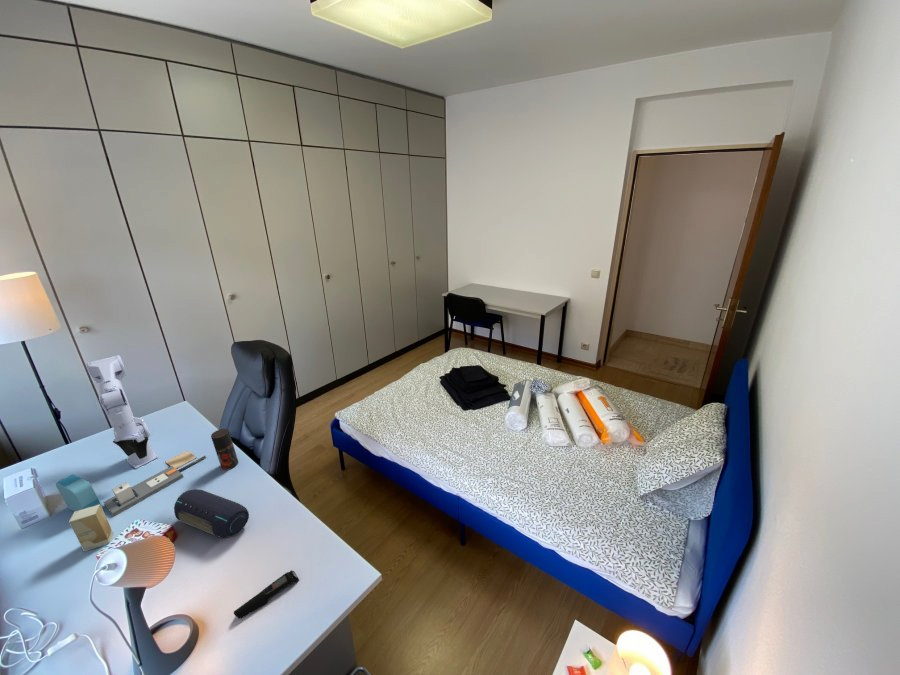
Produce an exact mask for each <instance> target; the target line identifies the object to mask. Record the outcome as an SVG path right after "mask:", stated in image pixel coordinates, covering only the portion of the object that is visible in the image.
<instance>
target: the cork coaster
mask: <svg viewBox="0 0 900 675" xmlns="http://www.w3.org/2000/svg"><path fill="white" fill-rule="evenodd" d="M197 458H198V457H197V456H196V455H195V454H193V453H192V452H190V451H189V450H186V451H184V452H181V453H180V454H178V455H176V456H174V457H172V458H170V459H168V460H167V461H165V464H167V465H168V466H169V467H170V466H173V467H174V468H175V469H177V470H178V469H180V468H182V467H184V466H186V465H188V464H189V463H190V462H193V461H195V460H197Z"/></svg>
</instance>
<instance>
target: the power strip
mask: <svg viewBox="0 0 900 675" xmlns="http://www.w3.org/2000/svg"><path fill="white" fill-rule="evenodd" d="M206 458H207V456H206V455H203V456H201V457H200V458H198V459H195V460H193V461H191V463H190V462H189V463H187V464H186V465H184V466H182V467H180V468H177V469H175V468H174V467H173V466H169V467H167V468H165V469H162V470H160V471H159V472H158V473H156V474H154V475H152V476H150V477H148V478H146V479H144V480H142V481H140V482H139V483H137V484H135V485H133V486H131V489H132V491H133V493H134V494H136V495H137V496H135V497H136V498H134V499H132V500H131V501H129V502H127V503H125V504H123V505H122V506H121V505H119V506H118V505H117V504H116V502H118V501H117V499H116V497H115V495H114V496H112V497H110V498H108V499H107V500H105V501H103V505H104V506H105V508H107V510H108V511H109V513H111V515H112V516H114V517H116V516H117V515H119V514H121V513H123V512H124V511H126V510H129V509H131V507H134V506H135V505H137V504H138V503H141V502H143V501H144V500H145V499H147V498H150V497H151V496H153V495H155V494H157V493H158V492H160V491H161V490H164V489H166V488H167V487H169V486H170V485H172V484H174V483H176V482H178V481H179V480H181V479H183V478H184V474H183V473H182V471H184V470H186V469H188V468H191V467H192V466H194V465H196V464H197V463H199V462H201V461H203V460H204V459H206Z"/></svg>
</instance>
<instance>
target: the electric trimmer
mask: <svg viewBox="0 0 900 675" xmlns="http://www.w3.org/2000/svg"><path fill="white" fill-rule="evenodd" d="M298 581H300V579H299V577H298V575H297V574H296V572H295V571H294V570H290V571H287V572H285V573H284V574H282V575H281V576H280V577H278V578H277V579H275V580H274V581H273V582H272V583H270V584H268V585H267V586H266V587H265V588H263V590H261V591H260V592H259V593H257V594H256V595H254V596H253V597H251V599H249V600H247V601H246V602H244V603H243V604H241V606H239V607H238V608H237V609H235V610H234V611H233V615H234V616H235V617H236V618H238V619H243V618H244V617H246V616H248V615H249V614H251V613H253V612H255V611H256V610H258V609H260V608H262V607H263V606H265V605H267V604H268V602H269V600H270V599H271V598H273V597H274V596H276V595H277V594H279V593H280V592H281V591H283V590H284V589H285V588H287V587H289V586H290V585H292V584H297V583H298Z"/></svg>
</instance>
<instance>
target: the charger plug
mask: <svg viewBox="0 0 900 675" xmlns="http://www.w3.org/2000/svg"><path fill="white" fill-rule="evenodd" d="M131 487H132V486H131V485H130V484H129V483H128V482H127V481H125V482H123V483H121V484H119V485H117V486H116V487H114V488H111V491H112V492H113V495H114V496H115V497H116V499H117V501H116V502H117V503H118V504H119V506H122V505H123V504H125V503H127V502H129V501H131V500H132V499H134V498H136V497H137V496H136V495H135V492H133V491H132V489H131Z"/></svg>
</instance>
